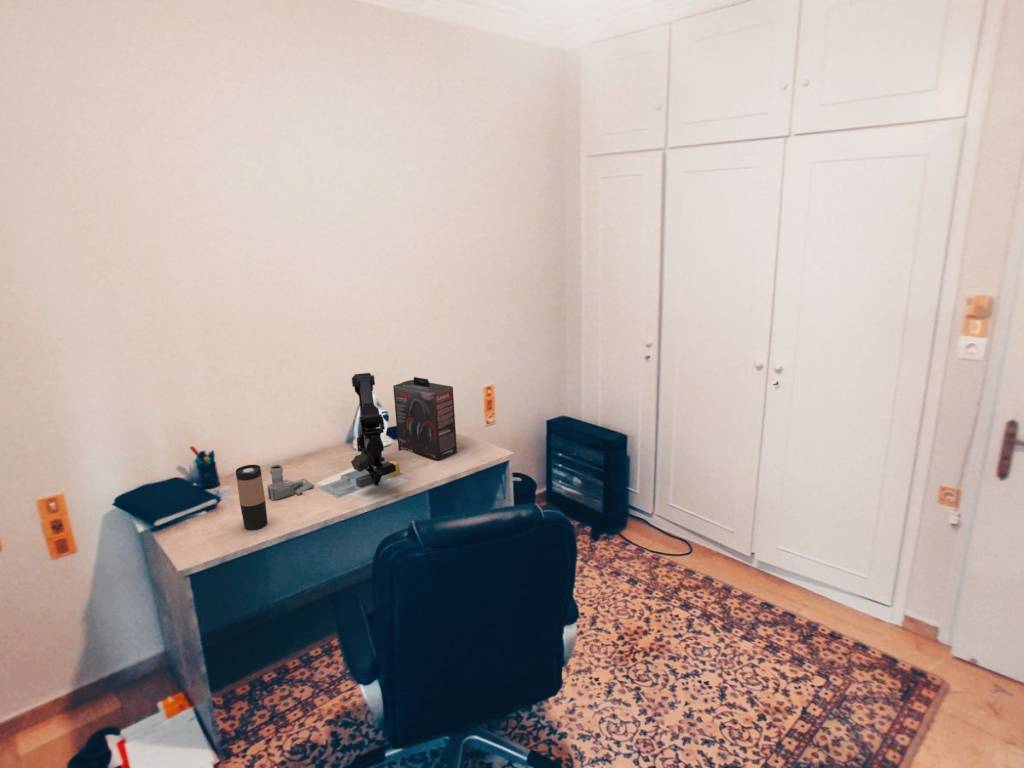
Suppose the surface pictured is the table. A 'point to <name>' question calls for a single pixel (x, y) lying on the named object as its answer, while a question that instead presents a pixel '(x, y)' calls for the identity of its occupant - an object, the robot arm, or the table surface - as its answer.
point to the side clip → (352, 475)
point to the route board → (352, 482)
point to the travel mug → (251, 497)
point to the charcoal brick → (364, 481)
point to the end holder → (343, 491)
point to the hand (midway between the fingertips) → (376, 485)
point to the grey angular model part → (285, 484)
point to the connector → (395, 471)
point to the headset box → (425, 418)
